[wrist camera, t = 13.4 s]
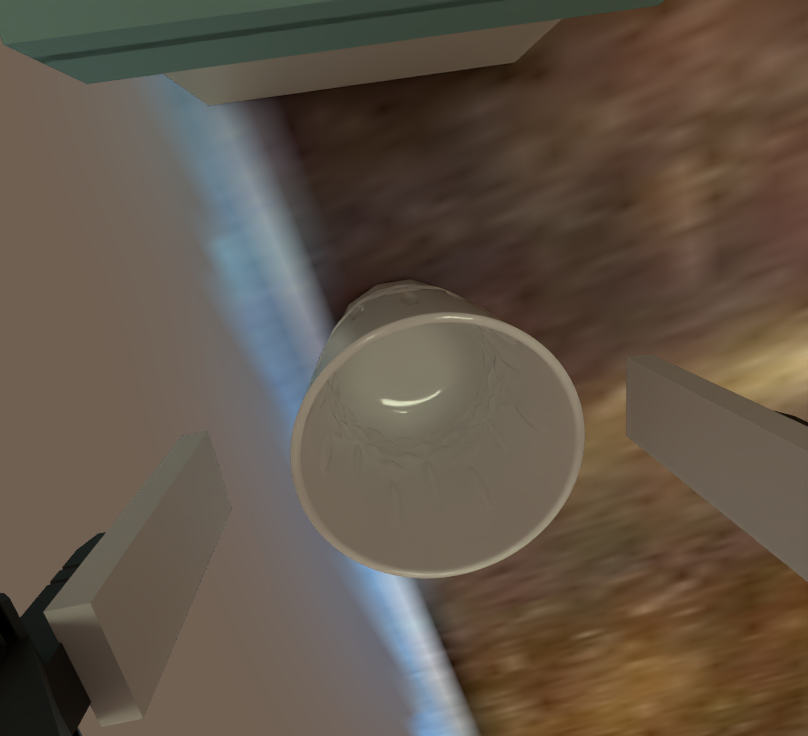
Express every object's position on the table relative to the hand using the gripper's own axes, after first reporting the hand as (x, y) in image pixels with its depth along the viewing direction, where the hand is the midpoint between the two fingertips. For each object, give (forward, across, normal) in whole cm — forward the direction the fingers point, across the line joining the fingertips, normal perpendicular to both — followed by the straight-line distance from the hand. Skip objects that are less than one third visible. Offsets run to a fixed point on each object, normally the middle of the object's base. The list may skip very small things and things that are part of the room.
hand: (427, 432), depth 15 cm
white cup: (+8, 0, 0) cm, 8 cm away
